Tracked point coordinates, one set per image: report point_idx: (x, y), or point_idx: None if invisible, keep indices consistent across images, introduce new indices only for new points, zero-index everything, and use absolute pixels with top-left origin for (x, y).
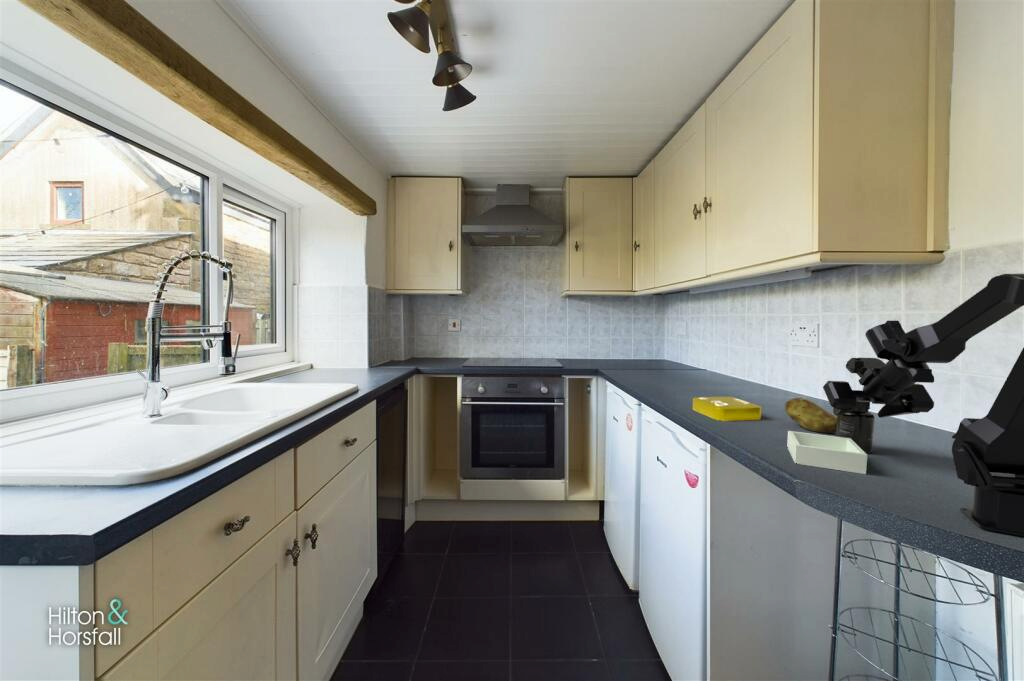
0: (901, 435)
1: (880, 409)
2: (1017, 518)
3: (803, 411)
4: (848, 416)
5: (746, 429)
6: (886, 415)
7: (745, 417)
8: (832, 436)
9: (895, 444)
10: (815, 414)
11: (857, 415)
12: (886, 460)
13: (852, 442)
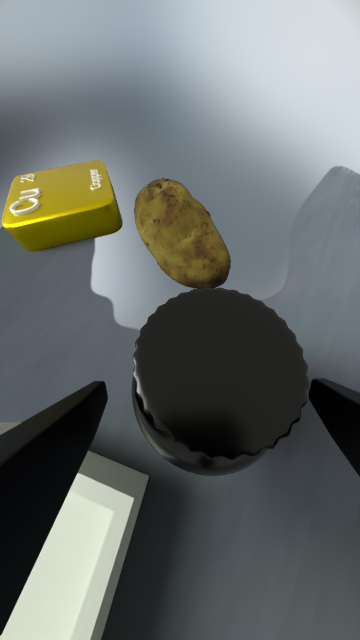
0: (353, 267)
1: (346, 398)
2: None
3: (154, 235)
4: (143, 433)
5: (35, 294)
6: (353, 465)
7: (80, 234)
8: (78, 479)
9: (321, 333)
10: (176, 247)
11: (174, 462)
12: (239, 510)
13: (95, 591)
